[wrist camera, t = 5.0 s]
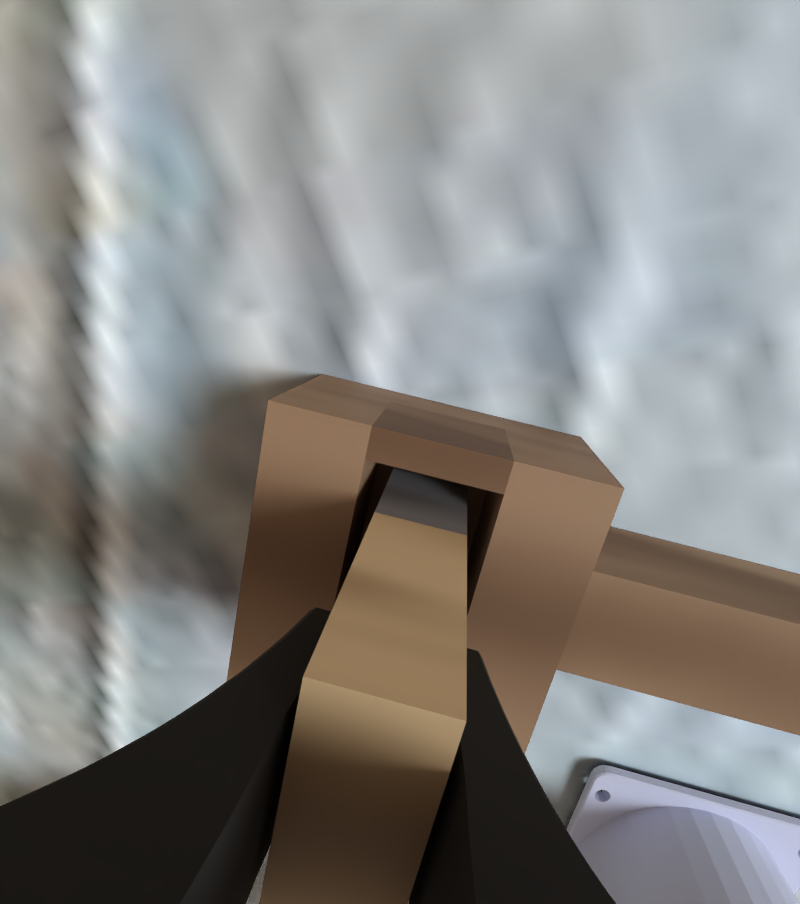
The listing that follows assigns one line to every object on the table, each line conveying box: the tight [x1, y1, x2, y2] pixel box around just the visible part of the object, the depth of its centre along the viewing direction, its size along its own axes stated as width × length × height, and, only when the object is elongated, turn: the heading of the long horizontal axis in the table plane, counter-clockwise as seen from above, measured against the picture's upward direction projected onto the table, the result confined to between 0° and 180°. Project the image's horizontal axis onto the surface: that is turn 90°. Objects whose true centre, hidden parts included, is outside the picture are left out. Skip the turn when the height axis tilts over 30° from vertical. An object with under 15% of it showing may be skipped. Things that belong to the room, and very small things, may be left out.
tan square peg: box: [259, 468, 467, 904], centre depth 11 cm, size 5×2×8 cm, turn 168°
